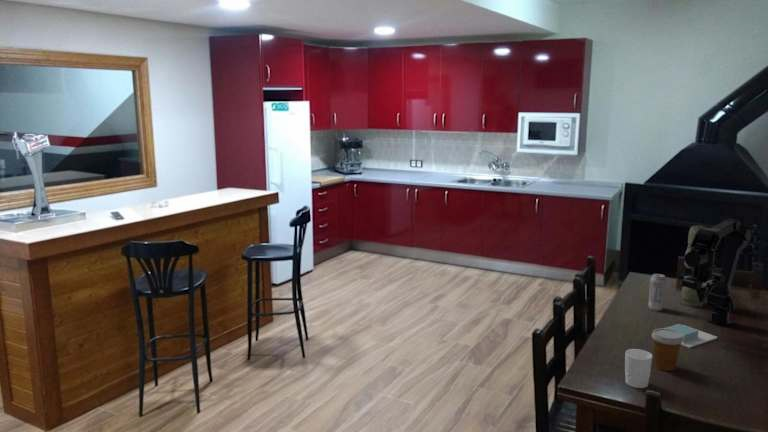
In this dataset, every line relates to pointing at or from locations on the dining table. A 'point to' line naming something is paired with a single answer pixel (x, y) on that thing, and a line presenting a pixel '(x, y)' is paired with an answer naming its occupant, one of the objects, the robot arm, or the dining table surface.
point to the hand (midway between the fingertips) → (701, 301)
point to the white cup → (637, 367)
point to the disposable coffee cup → (666, 348)
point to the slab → (685, 332)
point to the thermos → (689, 294)
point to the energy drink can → (657, 292)
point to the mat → (699, 339)
